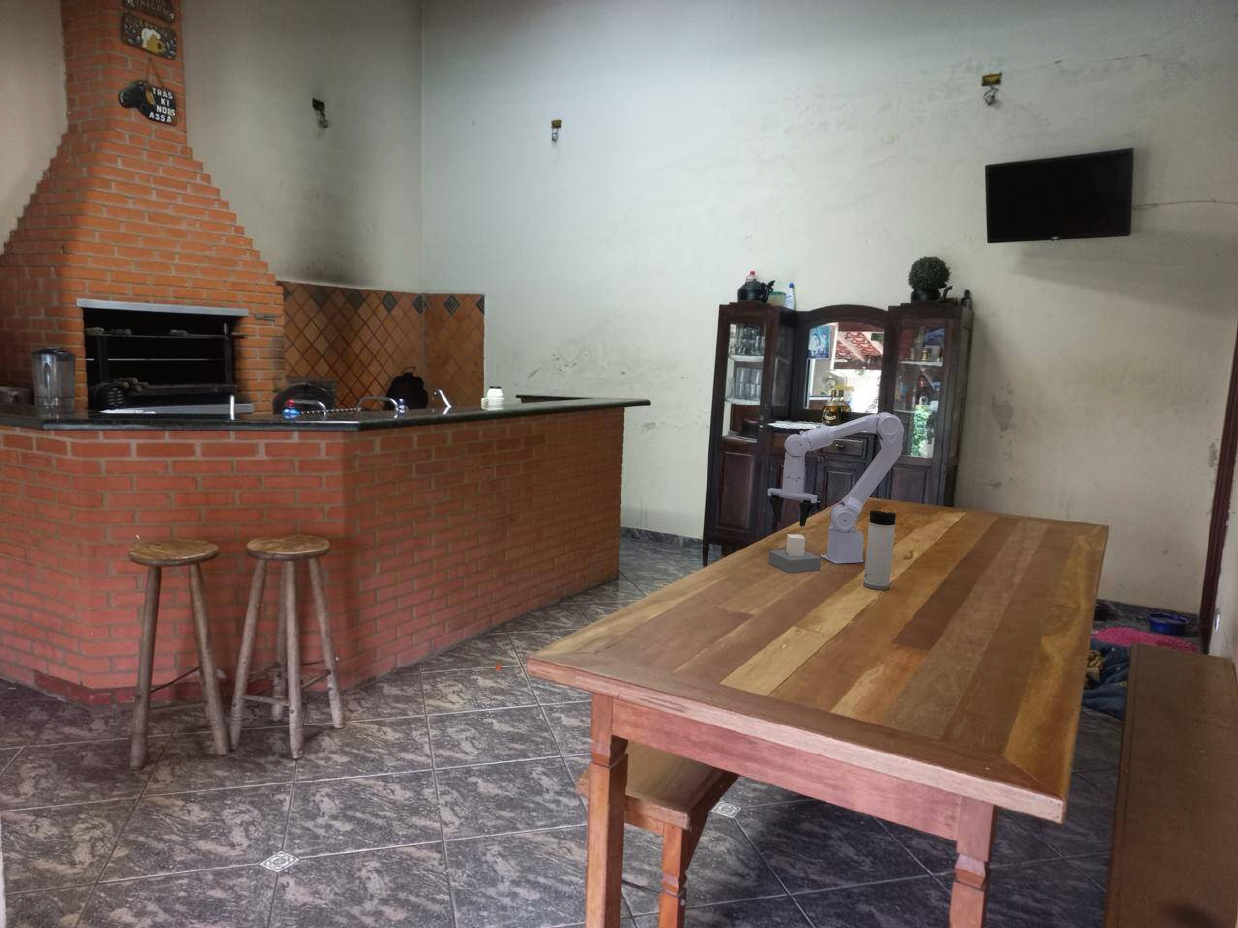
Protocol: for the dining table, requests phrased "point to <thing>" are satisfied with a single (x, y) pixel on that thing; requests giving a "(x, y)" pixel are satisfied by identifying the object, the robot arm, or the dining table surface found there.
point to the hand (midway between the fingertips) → (790, 523)
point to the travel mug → (879, 550)
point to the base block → (794, 561)
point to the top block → (795, 545)
